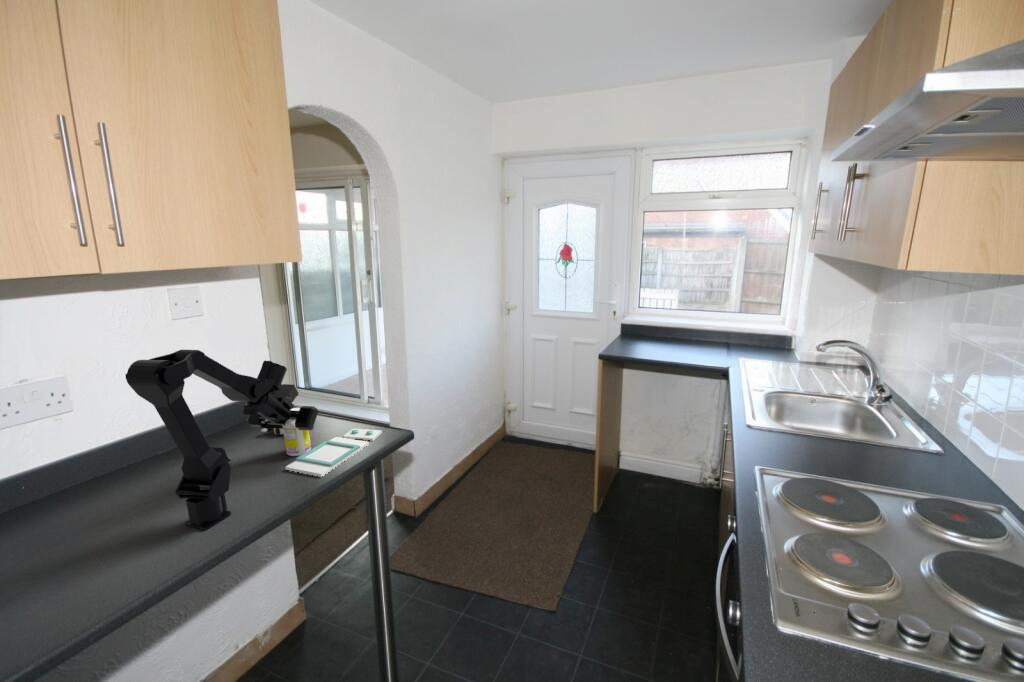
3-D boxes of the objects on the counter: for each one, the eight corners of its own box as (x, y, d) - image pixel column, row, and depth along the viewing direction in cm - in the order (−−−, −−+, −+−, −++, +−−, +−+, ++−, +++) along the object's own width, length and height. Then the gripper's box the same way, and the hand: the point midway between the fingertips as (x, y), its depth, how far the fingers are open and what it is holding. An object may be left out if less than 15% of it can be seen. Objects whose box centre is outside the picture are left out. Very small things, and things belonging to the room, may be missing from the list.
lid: (372, 440, 143) (372, 436, 143) (343, 438, 145) (342, 434, 145) (381, 432, 149) (381, 428, 148) (353, 430, 151) (352, 426, 151)
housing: (321, 477, 122) (320, 471, 122) (285, 470, 126) (284, 464, 126) (368, 444, 140) (368, 439, 140) (336, 439, 144) (335, 434, 144)
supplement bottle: (308, 444, 141) (303, 404, 139) (314, 452, 136) (308, 411, 133) (284, 450, 138) (278, 409, 135) (289, 459, 132) (283, 416, 129)
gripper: (310, 379, 126) (336, 403, 139) (248, 377, 129) (279, 401, 142) (296, 418, 120) (324, 439, 133) (231, 415, 123) (265, 436, 136)
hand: (298, 427), depth 136 cm, fingers open, 9 cm apart
